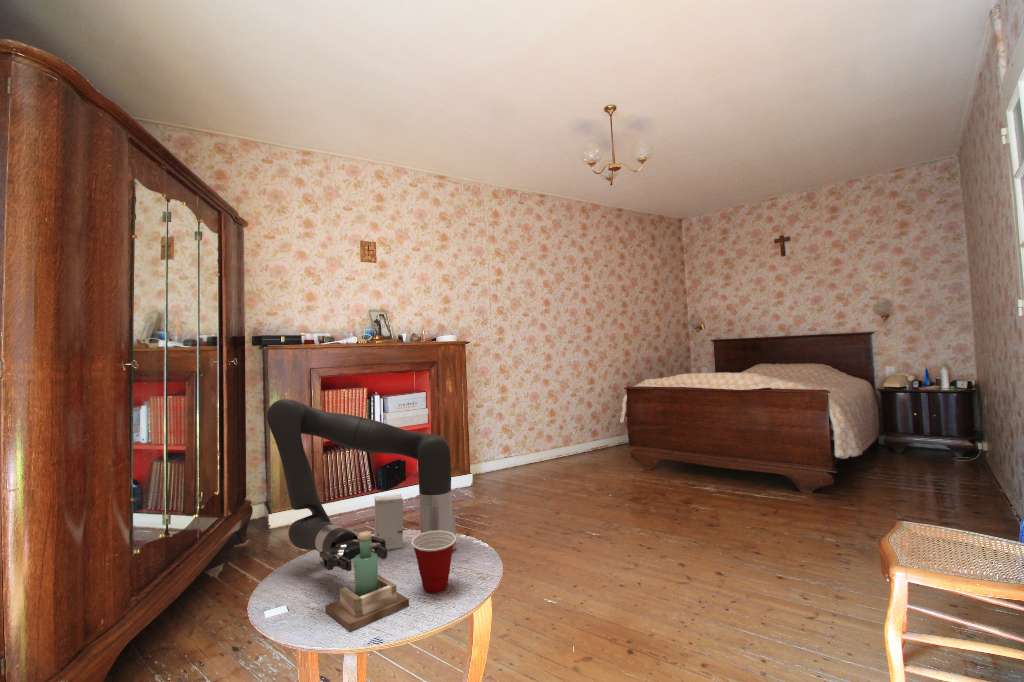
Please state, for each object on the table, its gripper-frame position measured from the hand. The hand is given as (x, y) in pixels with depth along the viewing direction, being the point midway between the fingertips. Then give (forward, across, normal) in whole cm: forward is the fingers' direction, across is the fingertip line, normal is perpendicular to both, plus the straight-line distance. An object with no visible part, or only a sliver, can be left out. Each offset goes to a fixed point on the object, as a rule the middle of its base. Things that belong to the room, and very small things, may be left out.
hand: (368, 560), depth 108 cm
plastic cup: (+3, +16, +11) cm, 20 cm away
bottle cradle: (-1, 0, +11) cm, 11 cm away
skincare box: (-32, +23, +11) cm, 41 cm away
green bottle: (-1, 0, +10) cm, 10 cm away
